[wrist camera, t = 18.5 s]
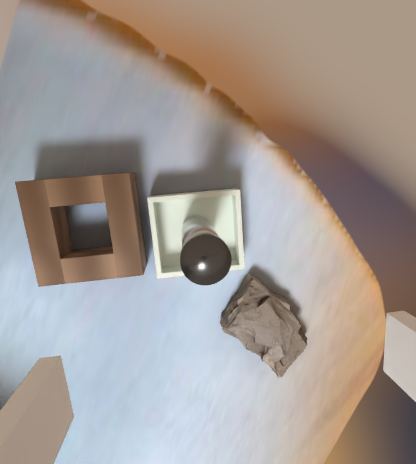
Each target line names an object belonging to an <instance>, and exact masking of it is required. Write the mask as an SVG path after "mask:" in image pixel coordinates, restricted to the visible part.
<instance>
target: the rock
mask: <svg viewBox="0 0 416 464" xmlns="http://www.w3.org/2000/svg"><path fill="white" fill-rule="evenodd" d="M220 324H221V326H222V327H223V329H222V330H223V331H224V332H225V333H227V334H230V335H232V336H234V337H236V338H238V339H239V340H240V341H241V342H242V344H243V345H244V346H245V347H246V349H248V350H251V351H252V352H253V353H256V354H258V355H259V356H261V359H262V361H264V362H265V363H267V364H268V365H269V366H270V367H271V368H272V370H273V371H274V372H275V373H276V374H277V376H278V378H279V377H282V376H283V375H284V373H285V372H286V370H287V369H288V367H289V366H291V364H292V363H293V362H294V361H295V360H296V358H297V357H298V356H299V355H300V354H301V353H302V352H303V351H304V349H305V348H306V346H307V337H306V336H305V334H304V333H303V332H302V329H301V325H300V323H299V322H298V320H297V319H296V317H295V316H294V314H293V313H292V312H291V311H290V304H289V302H288V301H287V299H286V298H285V297H284V296H281V295H278V294H275V293H272V292H270V291H269V289H268V288H267V287H266V286H264V285H263V284H262V282H261V281H260V280H259V279H257V278H256V277H254V276H252V275H251V274H247V276H246V277H245V279H244V281H243V282H242V284H241V286H240V288H239V290H238V292H237V293H236V295H235V296H234V298H233V299H232V301H231V303H230V304H229V306H228V307H227V308H226V309H225V311H224V312H223V313H222V314H221V321H220Z"/></svg>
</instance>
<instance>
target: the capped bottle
mask: <svg viewBox="0 0 416 464" xmlns="http://www.w3.org/2000/svg"><path fill="white" fill-rule="evenodd" d="M231 262H232V257H231V252H230V250H229V248H228V246H227V245H226V243H225V242H224V241H223V240H222V239H221V238H220V237H219V236H218V234H217V233H216V231H215V229H214V228H213V226H212V225H211V223H210V221H209V220H208V219H207V218H205V217H204V216H201V215H193V216H191V217H189V218H187V219H186V220H185V221H184V223H183V225H182V250H181V253H180V265H181V269H182V271H183V273H184V275H185V276H186V277H187V278H188V279H189V280H190V281H192V282H194V283H196V284H199V285H211V284H215V283H217V282H219V281H220V280H222V279H223V278H224V277H225V276H226V275H227V273H228V272H229V270H230V267H231Z"/></svg>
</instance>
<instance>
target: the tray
mask: <svg viewBox="0 0 416 464" xmlns="http://www.w3.org/2000/svg"><path fill="white" fill-rule="evenodd" d="M147 200H148V208H149V216H150V224H151V232H152V240H153V248H154V256H155V264H156V272H157V279H158V278H167V277H176V276H185V275H184V273H183V271H182V269H181V265H180V253H181V250H182V225H183V223H184V221H185V220H186V219H187V218H189V217H191V216H193V215H201V216H204V217H205V218H207V219H208V220H209V221H210V223H211V225H212V226H213V228H214V229H215V231H216V233H217V234H218V236H219V237H220V238H221V239H222V240H223V241H224V242H225V243H226V245H227V246H228V248H229V250H230V252H231V257H232V262H231V267H230V270H239V269H244V251H243V233H242V215H241V197H240V190H239V189H236V188H233V189H222V190H210V191H199V192H188V193H176V194H165V195H154V196H149V197H148V198H147ZM230 270H229V271H230Z"/></svg>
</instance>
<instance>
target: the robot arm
mask: <svg viewBox="0 0 416 464" xmlns="http://www.w3.org/2000/svg"><path fill="white" fill-rule="evenodd" d="M383 371H384V372H385V373H386V374H387V375H389V376H390V378H392V379H393V380H394V381H395V382H396V383H397V384H398V385H399V386H400V387H401V388H402V389H403V390H404V391H405V392H406V393H407V394H408V395H409V396H410V397H411V398H412V399H413V400H414V401H415V402H416V318H415V317H413V316H412V315H410V314H408V313H407V312H405V311H399V312H392V313H387V319H386V336H385V352H384V369H383ZM73 417H74V414H73V410H72V405H71V401H70V396H69V391H68V387H67V382H66V378H65V373H64V368H63V364H62V359H61V356H54V357H46V358H40V359H39V360H38V361H37V363H36V364H35V365H34V367H33V368H32V369H31V371H30V372H29V373H28V374H27V376H26V377H25V378H24V380H23V381H22V382H21V384H20V385H19V386H18V388H17V389H16V390H15V392H14V393H13V394H12V396H11V397H10V398H9V400H8V401H7V402H6V404H5V405H4V406H3V408H2V409H1V410H0V464H54V461H55V459H56V457H57V454H58V452H59V450H60V447H61V445H62V443H63V441H64V438H65V436H66V434H67V431H68V429H69V427H70V424H71V422H72V420H73Z"/></svg>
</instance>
